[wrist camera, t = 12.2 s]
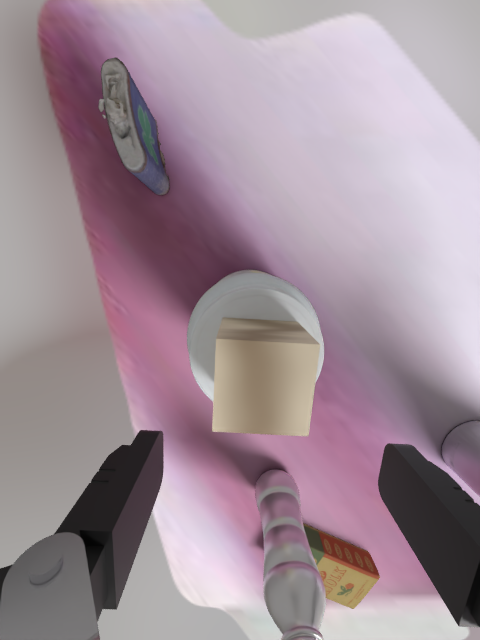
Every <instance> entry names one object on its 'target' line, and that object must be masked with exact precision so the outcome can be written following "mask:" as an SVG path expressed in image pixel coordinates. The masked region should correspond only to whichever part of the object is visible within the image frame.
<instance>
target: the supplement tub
mask: <svg viewBox="0 0 480 640" xmlns="http://www.w3.org/2000/svg"><path fill="white" fill-rule="evenodd" d="M223 317H226V318H243V319H261V320H278V321H296V322H298V323H299V324H300V325H301V326H302V327H303V328H304V329H305V330H306V331H307V332H308V333H309V334H310V335H311V336H312V337H313V338H314V339H315V340H316V341H317V342H318V343H319V344H320V351H319V359H318V366H317V374H316V381H317V379H318V377H319V374H320V372H321V369H322V365H323V359H324V342H323V337H322V334H321V330H320V324H319V321H318V317H317V315H316V312H315V310H314V308H313V306H312V305H311V303H310V302H309V300H308V299H307V298H306V296H305V295H304V294H303V293H302V292H301V291H300V290H299V289H298V288H296V287H295V286H294V285H292V284H291V283H289V282H287V281H285V280H283V279H281V278H278V277H276V276H272V275H270V274H268V273H265V272H262V271H257V270H242V271H237V272H234V273H231V274H229V275H227V276H226V277H224V278H223V279H221V280H220V281H219V282H218V283H217V284H215V285H214V286H212V287H211V288H210V289H209V290H208V291H207V292H206V293H205V294H204V295H203V296H202V297H201V298H200V300H199V301H198V303H197V304H196V306H195V308H194V310H193V312H192V315H191V318H190V321H189V325H188V331H187V346H188V352H189V358H190V365H191V369H192V372H193V375H194V377H195V380H196V382H197V383H198V385H199V387H200V388H201V390H202V391H203V392H204V393H205V394H206V395H207V396H208V397H209V398H210V399H211V400H212V401H213V400H214V376H215V351H216V337H217V334H218V331H219V327H220V324H221V321H222V318H223Z"/></svg>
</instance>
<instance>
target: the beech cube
mask: <svg viewBox="0 0 480 640" xmlns="http://www.w3.org/2000/svg"><path fill="white" fill-rule="evenodd" d="M319 351H320V344H319V343H318V342H317V341H316V340H315V339H314V338H313V337H312V336H311V335H310V334H309V333H308V332H307V331H306V330H305V329H304V328H303V327H302V326H301V325H300V324H299V323H298V322H296V321H278V320H261V319H243V318H226V317H223V318H222V321H221V324H220V327H219V331H218V334H217V337H216V351H215V376H214V400H213V425H212V432H231V433H251V434H271V435H291V436H308V435H309V428H310V420H311V412H312V405H313V397H314V389H315V382H316V374H317V366H318V359H319Z"/></svg>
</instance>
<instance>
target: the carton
mask: <svg viewBox="0 0 480 640" xmlns="http://www.w3.org/2000/svg"><path fill="white" fill-rule="evenodd" d="M303 526H304V530H305V533H306V537H307V540H308V543H309V546H310V550H311V552H312V555H313V558H314V560H315V563H316V565H317V568H318V570H319V573H320V575H321V578H322V581H323V584H324V587H325V593H326V598H327V599H330V600H332V601H335V602H337V603H339V604H342V605H344V606H347V607H349V608H352V609H354V608H355V607H356V606H357V605H358V604H359V603H360V601H361V600H362V599H363V598H364V597H365V596H366V594H367V593H368V592H369V591H370V589H371V588H372V587H373V586H374V584H375V583H376V582H377V581H378V579H379V578H380V576H379V573H378V570H377V568H376V566H375V564H374V561H373V559H372V557H371V555H370V554H369V552H368V551H366V550H363V549H361V548H359V547H357V546H354V545H352V544H350V543H347V542H345V541H343V540H340V539H338V538H336V537H334V536H331V535H329V534H327V533H324V532H322V531H320V530H318V529H315V528H313V527H311V526H308V525H306V524H304V523H303Z"/></svg>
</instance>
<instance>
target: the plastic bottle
mask: <svg viewBox="0 0 480 640" xmlns="http://www.w3.org/2000/svg"><path fill="white" fill-rule="evenodd" d="M255 498H256V503H257V507H258V510H259V512H260V518H261V523H262V529H263V539H264V580H263V581H264V583H263V590H264V599H265V603H266V606H267V609H268V611H269V613H270V615H271V617H272V619H273V620H274V622H275V624H276V625H277V627H278V628H279V629H280V631H281V632H282V634H283V636H282V638H281V640H323V637H322V634H321V633H320V632H319V628H320V626H321V623H322V620H323V615H324V611H325V606H326V593H325V587H324V584H323V581H322V578H321V575H320V573H319V570H318V568H317V565H316V563H315V560H314V558H313V555H312V552H311V550H310V546H309V543H308V540H307V537H306V533H305V530H304V526H303V520H302V515H301V509H300V495H299V489H298V487H297V485H296V483H295V480H294V479H293V477H292V476H291V475H289V474H288V473H286V472H285V471H282V470H278V469H273V470H269V471H266V472H265V473H263V474H262V475H261V476H260V478H259V479H258V481H257V483H256V490H255Z"/></svg>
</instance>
